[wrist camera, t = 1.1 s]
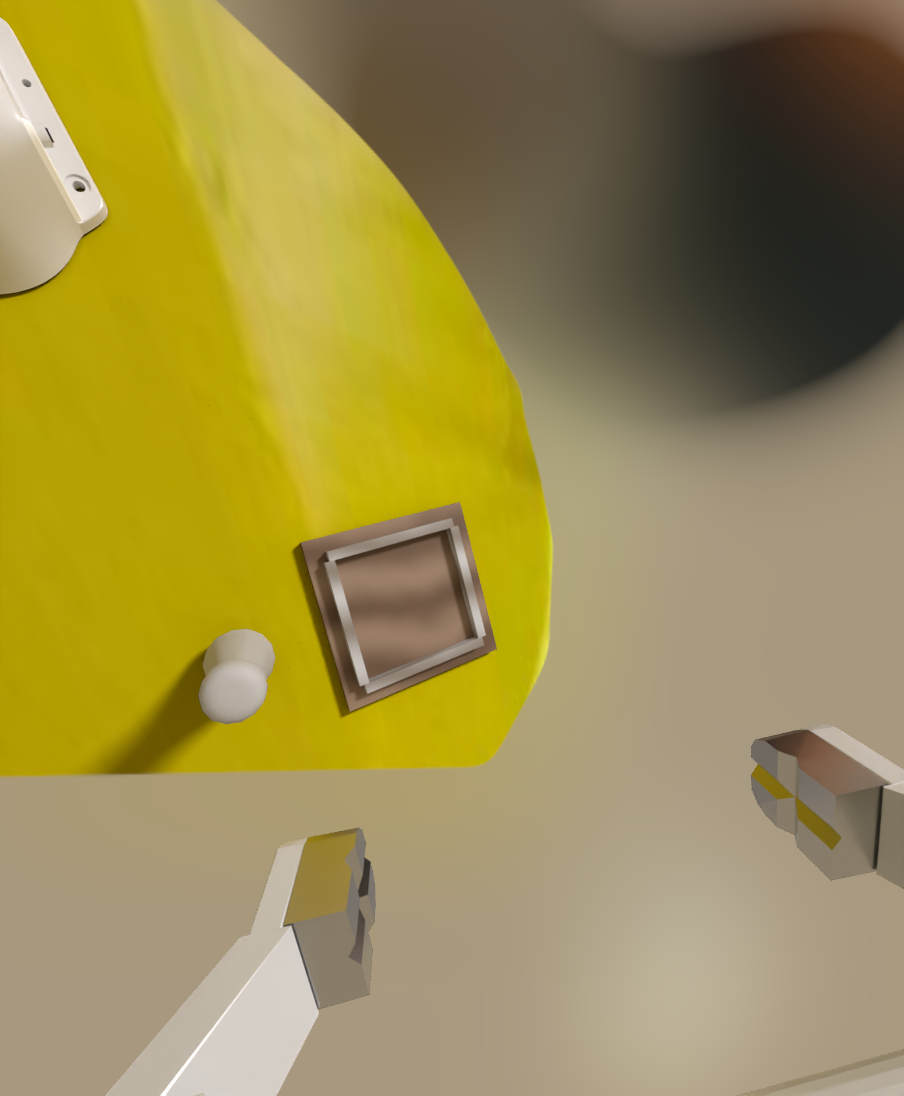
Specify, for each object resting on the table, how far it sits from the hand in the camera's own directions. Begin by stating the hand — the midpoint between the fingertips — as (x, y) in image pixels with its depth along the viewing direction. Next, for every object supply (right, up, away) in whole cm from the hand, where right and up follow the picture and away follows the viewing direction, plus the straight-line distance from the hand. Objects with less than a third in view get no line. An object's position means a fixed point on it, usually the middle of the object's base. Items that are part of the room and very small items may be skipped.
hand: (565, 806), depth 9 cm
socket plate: (-8, -1, +39) cm, 40 cm away
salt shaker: (-23, -5, +32) cm, 40 cm away
